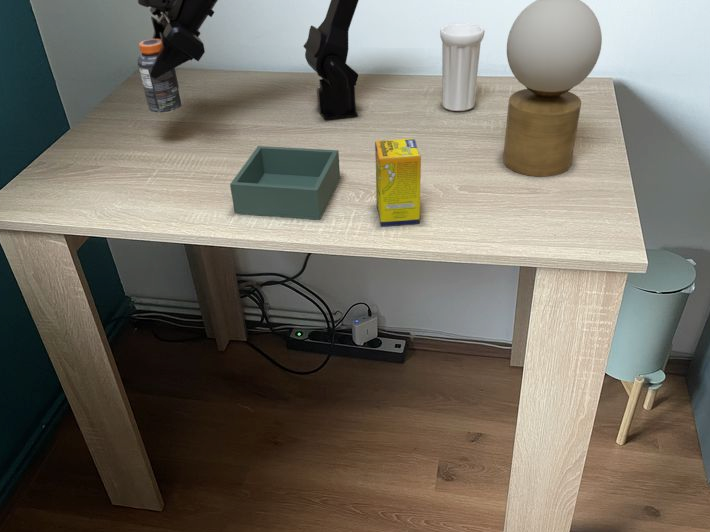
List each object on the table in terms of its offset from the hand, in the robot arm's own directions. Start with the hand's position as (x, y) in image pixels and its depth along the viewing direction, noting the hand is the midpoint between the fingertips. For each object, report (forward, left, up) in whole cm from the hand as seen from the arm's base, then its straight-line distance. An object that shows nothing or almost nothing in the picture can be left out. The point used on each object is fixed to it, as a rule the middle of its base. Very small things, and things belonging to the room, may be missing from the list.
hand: (149, 71), depth 124 cm
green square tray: (-19, +26, -13) cm, 35 cm away
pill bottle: (-1, 0, -7) cm, 7 cm away
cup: (-56, -1, -13) cm, 58 cm away
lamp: (-62, +24, -13) cm, 68 cm away
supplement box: (-34, +37, -13) cm, 52 cm away
